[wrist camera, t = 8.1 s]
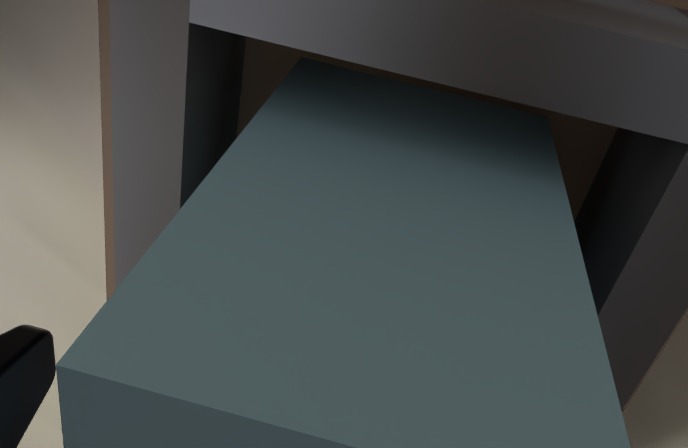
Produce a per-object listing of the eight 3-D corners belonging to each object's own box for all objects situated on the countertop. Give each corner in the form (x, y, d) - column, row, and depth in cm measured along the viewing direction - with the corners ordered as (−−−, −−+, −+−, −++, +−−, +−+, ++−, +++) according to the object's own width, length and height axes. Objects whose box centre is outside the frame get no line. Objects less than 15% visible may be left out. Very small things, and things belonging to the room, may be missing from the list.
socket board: (122, 420, 17) (56, 527, 14) (113, -208, 9) (-31, -225, 7) (528, 533, 16) (537, 666, 14) (879, -35, 9) (1053, 21, 6)
